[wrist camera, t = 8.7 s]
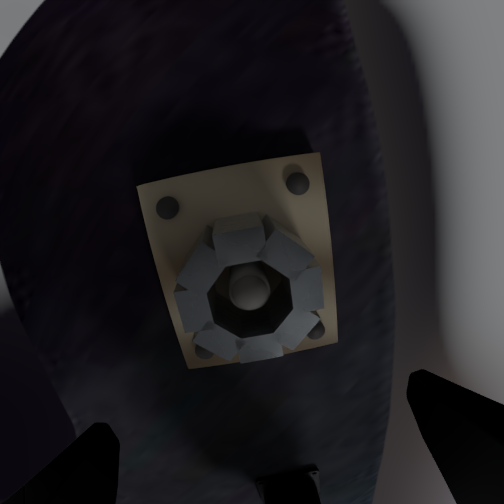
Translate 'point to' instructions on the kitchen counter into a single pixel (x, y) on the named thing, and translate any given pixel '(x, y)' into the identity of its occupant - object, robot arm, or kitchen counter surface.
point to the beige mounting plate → (234, 203)
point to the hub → (249, 321)
